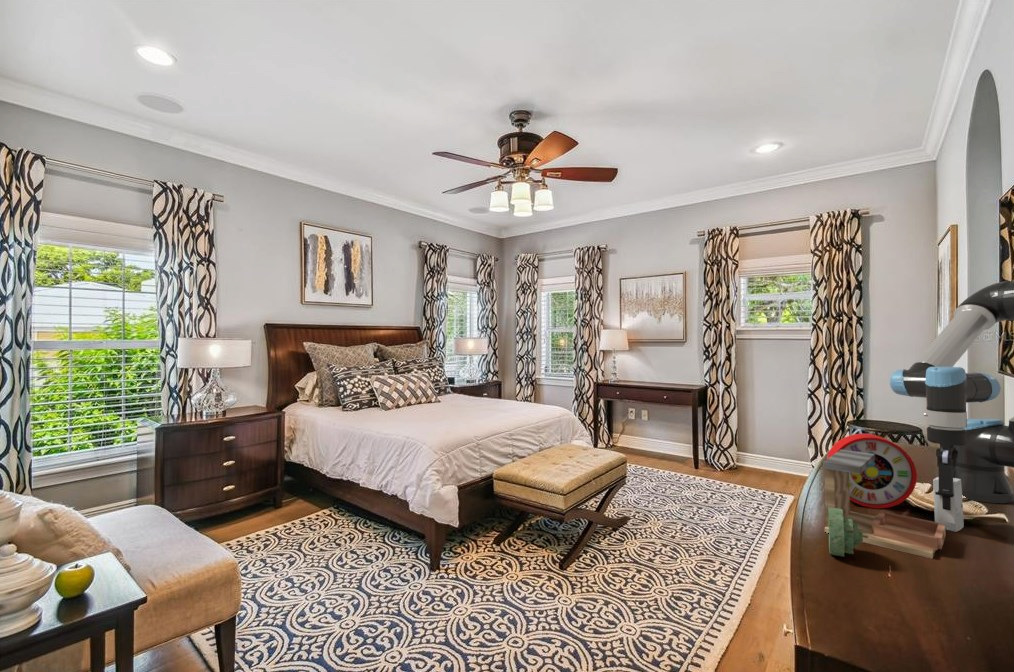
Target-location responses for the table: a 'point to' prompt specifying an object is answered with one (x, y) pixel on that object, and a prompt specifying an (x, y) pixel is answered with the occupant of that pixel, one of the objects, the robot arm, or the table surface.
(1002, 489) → the robot arm
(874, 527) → the awning stand
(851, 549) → the decorative artifact
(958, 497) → the skincare box
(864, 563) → the table surface
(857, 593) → the table surface
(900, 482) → the toy clock
